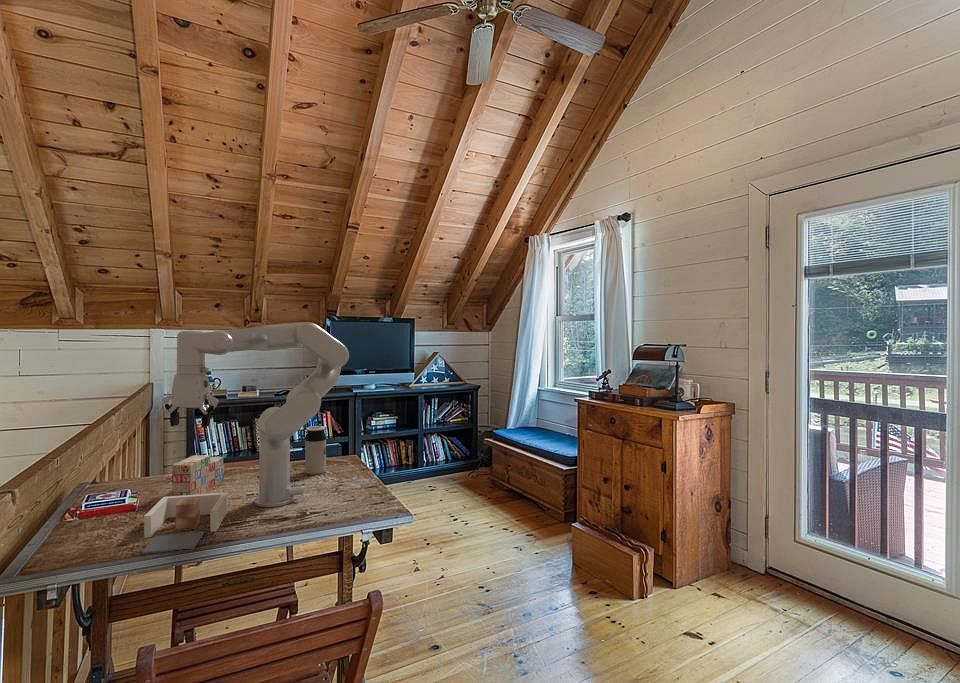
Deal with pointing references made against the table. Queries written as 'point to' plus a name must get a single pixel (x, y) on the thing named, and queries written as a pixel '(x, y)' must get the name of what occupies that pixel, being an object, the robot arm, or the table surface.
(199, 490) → the stack of blocks
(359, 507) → the table surface
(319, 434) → the travel mug
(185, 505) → the block
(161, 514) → the u-shaped wall
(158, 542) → the mat
